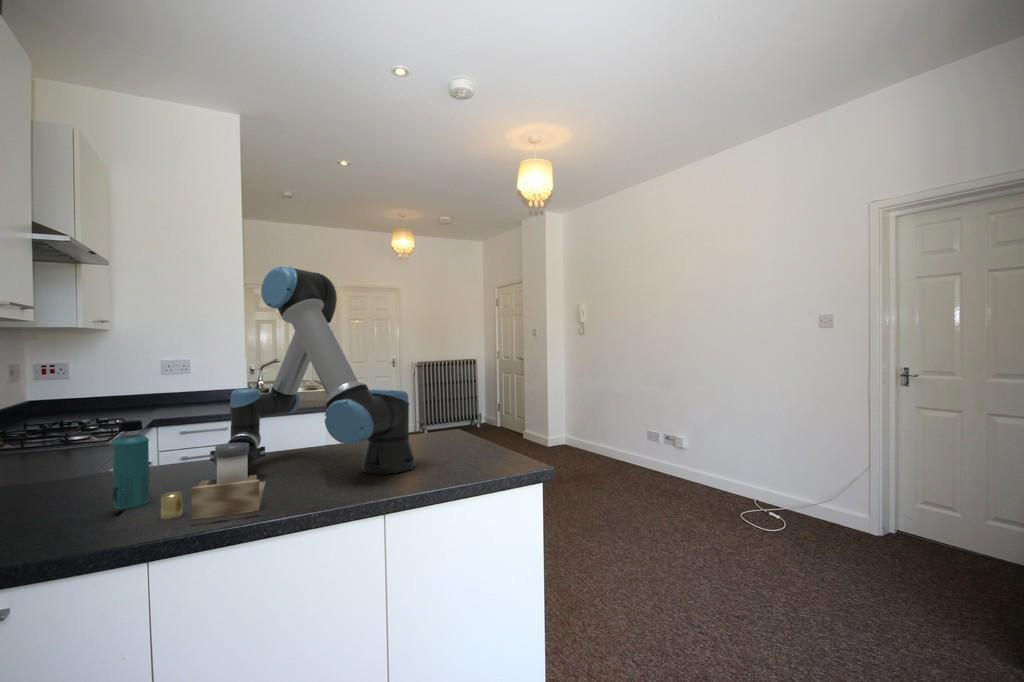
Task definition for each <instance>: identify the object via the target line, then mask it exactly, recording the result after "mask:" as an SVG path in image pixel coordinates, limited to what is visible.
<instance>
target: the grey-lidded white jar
mask: <svg viewBox="0 0 1024 682" xmlns="http://www.w3.org/2000/svg"><path fill="white" fill-rule="evenodd" d="M214 451H215V457H217V467H216V484H223V483H232V482H241V481H247V480H248V477H249V475H248V471H249V470H248V467H249V465H248V457H247V454H248V453H249V443H245V442H237V443H228V442H227V443H223V444H218V445H216V446H215V447H214Z"/></svg>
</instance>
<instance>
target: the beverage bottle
mask: <svg viewBox="0 0 1024 682" xmlns="http://www.w3.org/2000/svg"><path fill="white" fill-rule="evenodd" d="M118 425H119V426H118V432H120V433H123V432H124V433H128V432H137V431H141V430H143V422H142V420H139V419H131V420H123V421H120V422H119V424H118ZM149 441H150V439H149V438H148V437H147V436H145V435H144V434H129V435H123V436H119V437H117V438H116V439H115V440H114V441H113V442H112V474H111V475H112V476H111V477H112V484H113V485H112V504H113V508H114V509H117V510H124V509H125V510H126V509H131V508H132V509H133V508H138V507H141V506H144V505H146V504H148V503H149V502H150V496H151V493H150V483H151V480H150V470H151V469H150V463H149V459H150V457H149V456H150V455H149V453H150V451H149Z"/></svg>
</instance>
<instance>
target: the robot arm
mask: <svg viewBox="0 0 1024 682" xmlns="http://www.w3.org/2000/svg"><path fill="white" fill-rule="evenodd" d="M260 289H261V290H260V293H261V298H262V301H263V303H264V305H266V306H267V307H269V308H271V309H275V310H278V313H279V314H280V317H281V319H282V320H283V321H284V322H285V323H289V324H291V325H292V328H293V329H294V333H293V335H292V338H291V340H290V342H289V345H288V347H287V349H286V352H285V355H284V358H283V360H282V363H281V364H280V367H279V369H278V373H277V375H276V377H275V380H274V382H273V385H272V387H271V389H270V392H266V393H264V392H263V393H261V392H260V390H259V389H258V388H238V389H234V390H233V391H232V392H231V394H230V402H229V403H230V404H229V406H230V439H229V440H228V442H227V443H237V442H245V443H249V453H248V454H247V457H248V466H250V465H252V464H254V463H255V462H256V461H258V460H259V459H260V458H264V457H266V446H261V447H260V444H261V441H262V439H261V433H260V431H261V430H260V425H261V419H264V418H265V419H266V418H271V417H277V416H285V415H288V414H291V413H294V412H296V411H297V410H298V408H299V407H300V400H301V398H300V395H299V394H298V391H299V389H300V386H301V384H302V381H303V379H304V377H305V374H306V372H307V371H308V370H307V369H308V367H309V366H310V363H311V365H312V367H313V369H314V371H315V373H316V375H317V377H318V379H319V381H320V383H321V385H322V388H323V389H324V391H325V393H326V395H327V399H326V401H325V403H324V404H325V406H326V408H327V409H326V411H325V414H324V416H325V419H324V424H325V425H324V426H325V428H326V430H327V433H329V435H330V436H331V438H333V439H334V441H337V442H339V443H340V444H343V445H345V444H346V445H351V444H359V443H363V442H365V441H367V446H366V449H365V452H364V455H363V458H362V461H361V471H362V472H364V473H366V474H369V473H370V475H391V474H390V473H395V474H399V473H398V472H401V473H404V472H403V471H405V472H408V471H407V470H409V469H411V468H413V467H414V466H415V467H416V459H415V456H414V452H413V449H412V447H411V444H410V436H409V435H410V429H409V428H410V427H409V425H410V424H409V423H410V421H409V419H410V417H409V416H410V415H409V414H410V412H409V411H410V410H409V409H410V407H409V406H410V402H409V394H408V392H407V391H405V390H394V389H393V390H391V389H369V388H368V385H367V384H366V383H363V382H359V380H358V379H357V377H356V375H355V373H354V371H353V369H352V367H351V365H350V363H349V361H348V360H347V357H346V355H345V353H344V352H343V350H342V348H341V345H340V344H339V341H338V340H337V338H336V336H335V334H334V332H333V330H332V328H331V327H330V325H329V324H331V322H332V319H334V315H335V312H336V308H337V302H338V301H337V300H338V299H337V296H338V295H337V291H336V287H335V285H334V284H333V282H332V281H331V279H330V278H328V277H327V276H326V275H324V274H321V273H319V272H315V271H309V270H303V269H299V268H294V267H292V266H277V267H274V268H271V270H269V271H268V272H267V274H266V275H265V277H264V278H263V280H262V284H261V288H260ZM209 459H210V460H209V461H210V462H212V463H213V464H214V465H215V467H216V468H217V457H215V450H210V453H209ZM415 467H414V468H415ZM414 468H413V469H414ZM411 470H412V469H411ZM409 471H410V470H409Z"/></svg>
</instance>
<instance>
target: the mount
mask: <svg viewBox="0 0 1024 682" xmlns="http://www.w3.org/2000/svg"><path fill="white" fill-rule="evenodd" d="M257 475H258V474H253V475H248V480H247V481H241V482H232V483H223V484H217V483H216V484H211V479H207V480H205V479H204V480H201V481H200V482H199V484H198V485H197V486H192V487H191V496H190V497H191V520H197V519H198V520H199V519H205V518H206V519H208V518H213V517H214V518H215V517H221V516H229V515H235V514H236V515H237V514H243V513H244V514H245V513H251V512H259V511H260V507H261V504H262V498H263V494H264V490H265V486H266V480H264V481H260V479H257V478H258V476H257ZM255 517H260V514H256V515H251V516H242V517H241V516H240V517H235V518H228V519H220V520H213V521H205V522H199V523H192V524H190V526H191V527H190V528H193V527H201V526H208V525H214V524H222V522H223V523H229V521H230V522H236V521H235V520H237V521H241V520H240V519H245V520H249V519H248V518H252V519H256V518H255Z"/></svg>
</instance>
